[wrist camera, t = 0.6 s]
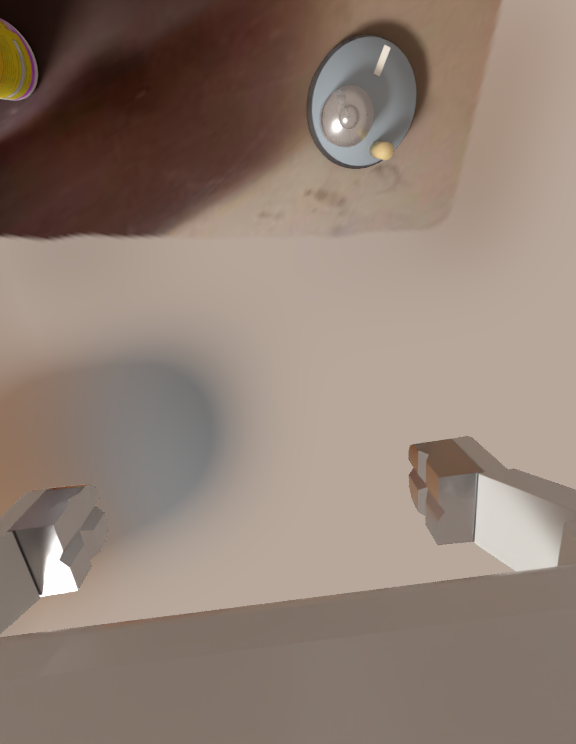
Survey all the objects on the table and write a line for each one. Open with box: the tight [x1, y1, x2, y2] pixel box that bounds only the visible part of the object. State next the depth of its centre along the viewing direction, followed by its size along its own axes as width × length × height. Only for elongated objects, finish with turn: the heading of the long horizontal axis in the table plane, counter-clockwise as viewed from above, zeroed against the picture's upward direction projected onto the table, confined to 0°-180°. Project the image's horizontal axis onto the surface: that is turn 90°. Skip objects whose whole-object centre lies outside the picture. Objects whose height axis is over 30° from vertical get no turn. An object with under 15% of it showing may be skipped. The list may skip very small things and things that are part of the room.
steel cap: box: [319, 85, 374, 147], centre depth 38 cm, size 5×5×4 cm
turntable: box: [311, 37, 416, 166], centre depth 38 cm, size 11×11×5 cm
